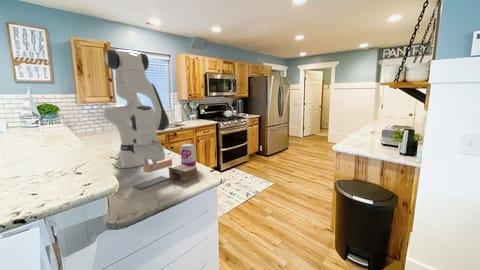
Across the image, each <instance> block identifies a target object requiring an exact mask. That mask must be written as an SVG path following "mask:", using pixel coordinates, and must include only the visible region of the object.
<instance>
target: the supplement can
mask: <svg viewBox="0 0 480 270" xmlns="http://www.w3.org/2000/svg"><path fill="white" fill-rule="evenodd" d="M179 148H180V165H182V164H184V165H188V166H193V167H197V160H196V148H195V145H194V144H193V143H184V144H180V147H179Z"/></svg>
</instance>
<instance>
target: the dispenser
mask: <svg viewBox="0 0 480 270" xmlns="http://www.w3.org/2000/svg"><path fill="white" fill-rule="evenodd" d="M167 168H168V174H169V175H168V176H169V177H168V178H170V179H169V180H170V181H175V180H177V179H179V182H180V183H182V184H186V183H189V182H191V181H193V180H195V179H198V170H197V166H196V167H193V166H188V165H184V164H179V165H176V166H174V167H172V166H169V167H167Z"/></svg>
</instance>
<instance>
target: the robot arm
mask: <svg viewBox="0 0 480 270" xmlns="http://www.w3.org/2000/svg"><path fill="white" fill-rule="evenodd" d="M104 61H105V62H104V63H106V66H107V67H108V68H109V69H111V70H115V72H114V73H115V76H114V77H115V79H114V80H115V92H116V96H117V97H119V98H121V99H123V100H125V101H126V104H115V105H110V106H109V105H108V106H107V107H106V108H105V109H104V112H103V116H104V119H105V120H106V121H107V122H108V123H110V124H112V126H114V127H115V128H116V129H117V130H118V133H119V137H120V146H119V147H120V148H119V149H120V150H119V151H118V153H117V154H116V155H115V157H114V160H115V161H114V162H112V165H113V166H115V168H117V169H125V168H136V167H140V166H143V165H144V164H148V163H150V162H149V160H151V162H153V163H152V165H151V168H153V169H155V168H156V164H157V161H162V160H164V159H166V156H165V149H164V146H163V145H162V143H161V141H159V140H158V132H159V131H160V132H161V131H165V130H166V129H167V128H168V127H169V126H170V120H169V117H168V115H167V112H166V110H165V109H164V106H163V102H162V100H161V97H160V95H159V92H158V89H157V88H156V85H154V83H151V81H149V79H148V78H147V75H146V71H147V70H148V68H149V65H150V62H149V56H148V55H147V54H146V53H144V52H140V51H139V52H138V51H133V50H128V49H127V50H125V49H114V48H113V49H112V48H111V49H108V50H106V51H105V54H104ZM138 94H140V95H144V96H146V97H147V98H149V99H150V101H151V104H152V106H148V105H145V104H143V103H142V102H141V100H140V99H139V96H138Z"/></svg>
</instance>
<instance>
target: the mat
mask: <svg viewBox="0 0 480 270" xmlns="http://www.w3.org/2000/svg"><path fill="white" fill-rule="evenodd" d="M169 180H170V177H167V176H164V175H160V176H158V177H155V178H151V179H149V180H145V181H143V182H139V183H137V184H134V185H132V188H134V189H136V190H139V191H142V190H145V189H147V188H150V187H154V186H155V185H158V184H161V183H163V182H166V181H169Z"/></svg>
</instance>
